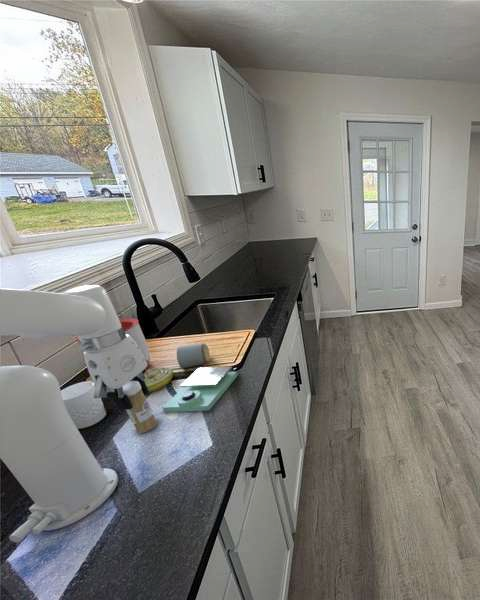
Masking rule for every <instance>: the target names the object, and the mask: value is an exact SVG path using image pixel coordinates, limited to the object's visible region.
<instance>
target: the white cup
mask: <svg viewBox="0 0 480 600" xmlns="http://www.w3.org/2000/svg"><path fill="white" fill-rule="evenodd" d="M95 386H96V385H95V384H94V382H93V381H91V380H89V381H81V382H77V383H75V384H72V385H69V386H67V387H65V388H63V389H60V390H61V395H62V399H63V402H64V405H65V407H66V410H67V412H68V414H69V415H70V417H71V419H72V421H73V422H74V424H75V426H76V427H77V429H78V430H79V429H84V428H85V429H86V428H89V427H91V426H94V425H95V424H98V423H99V422H100V421H102V420H103V419H104V418H105V417H106V416H107V410H106V408H105V406H104V403H103V400H102V398H94V391H95Z"/></svg>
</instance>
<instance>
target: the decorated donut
mask: <svg viewBox="0 0 480 600" xmlns="http://www.w3.org/2000/svg"><path fill="white" fill-rule="evenodd" d="M144 376H145V380H144V382H145V384H146V386H147V388H148V390H149V393H153V392H156V391H158V390H161V389H163V388H165V387H166V386H168V385H169V384H170V383H171V381H172V379H173V376H174V371H173V369H172V368H170V367H156V368H153V369H149V370H146V371H145V374H144Z"/></svg>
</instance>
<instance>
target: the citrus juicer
mask: <svg viewBox="0 0 480 600" xmlns="http://www.w3.org/2000/svg"><path fill="white" fill-rule="evenodd" d="M119 321H120V323H121V325H122V327H123V329H124V331H125V334H128V335H130V336H131V337H132V338H133V340H134V341H135V342H136V344H137V345H138V347H139V348H140V350H141V352H142V354H143V356H144V358H145V359H146V360H148V364H149V365H148V364H147V367H146V369H148V367H150V362H151V361H150V360H151V358H150V348H149V345H148V342H147V339H146V338H145V335H144V333H143V331H142V328H141V326H140V323H139V321H140V320H139V319H138V318H135V317H124V318H119ZM75 340H76V341H78V343H79V346H81V345H82V344H81V342H80V340H79V338H78V336H75ZM84 352H85V351H83V353H84Z"/></svg>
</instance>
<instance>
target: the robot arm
mask: <svg viewBox="0 0 480 600" xmlns="http://www.w3.org/2000/svg"><path fill="white" fill-rule="evenodd" d="M119 319H120V318H119V316H118V314H117V312H116V310H115V307H114V305H113V303H112V301H111V299H110V296H109V294H108V292H107V290H106V289H105V288H104V287H103V286H101V285H98V284H89V285H88V284H87V285H81V286H77V287H74V288H73V287H72V288H70V289H67V290H65V291H63V292H61V293H60V292H52V291H41V290H30V289H16V288H4V287H0V337H4V336H18V337H22V338H25V339H33V340H35V339H36V340H37V339H38V340H39V339H40V340H41V339H54V338H65V337H76V336H78V338H79V340H80V342H81V344H82V345H79V346H78V350H80V351H81V352H83V357H84V362H85V366H86V368H87V371H88V374H89V377H90V378H91V380H92V382H94V384H95V391H94V398H101V399H104V398H105V399H112V400H113V402H114V404H115V406H116V408H117V409H118V410H120V411H124V410H125V411H126V410H130V409H131V408H133V406H132V404H131V402H130V400H129V398H128V396H127V395H124V393H123V387H122V386H123V385H125V384H126V383H128V382H130V381H138V382H139V383H140V385H141V390H142V392H143V394H144V396H148V395H149V394H150V392H149V390H148V388H147V386H146V384H145V382H144V380H145V376H144V374H145V372H147V368H148V367H147V364H148V360H146V359H145V358H144V356H143V354H142V352H141V350H140V348H139V347H138V345H137V344H136V342H135V341H134V340H133V338H132V337H131V336H130V335H128V334H125V331H124V329H123V327H122V325H121V323H120V321H119ZM84 351H85V352H84ZM146 367H147V368H146ZM61 390H62V389H61V386H60V383H59V381H58V379H57V377H56V376H55V375H54V373H52V372H50V371H49V370H47V369H45V368H42V367H38V366H33V365H24V364H23V365H21V364H20V365H1V366H0V459H1V461H2V462H3V463H4V464H5V466H6V467H7V468H8V470H9V472H11V474H12V475H13V476H14V478H15V479H16V480H17V482H18V483H19V484H20V486H21V487H22V488H23V490H24V491H25V492H26V493H27V495H28V496H29V497H30V499H31V500H32V501H33V503H32V505H31V506H29V508H28V510H29V512H30V513H31V514H29V515H28V516H27V520H26V521H25V522H23V524H21V525H20V526H19V527H18V528H16V529H15V530H14V531H13V532H12V533H11V534H10V535H9V536H8V539H9V540H10V541H11V542H13V543H21V542H22V541H23V540H24V538H26V537H27V536H28V535H29V534H30V533H33V534H34V535H39V534H41V533H42V531H54V530H58V529H62V528H65V527H68V526H70V525H72V524H74V523H76V522H78V521H80V520H82V519H83V518H85V517H87V516H88V515H90V514H91V513H92V512H94V511H95V510H96V509H98V508H99V507H100V506H101V505H103V504H104V503H105V502H106V501H107V499H108V498H109V497H111V495H112V494H113V492H114V491H115V489H116V487H118V483H119V476H118V474H117V472H116V471H115V469H111V468H107V467H104V468H102V467H101V466H100V464H99V462H98V461H97V459H96V458H95V456H94V454H93V452H92V451H91V449H90V447H89V445H88V444H87V442H86V441H85V439H84V437H83V435H82V434H81V432H80V430H79V429H77V427H76V426H75V424H74V422H73V421H72V419H71V417H70V415H69V414H68V412H67V410H66V407H65V405H64V402H63V399H62V395H61Z"/></svg>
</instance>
